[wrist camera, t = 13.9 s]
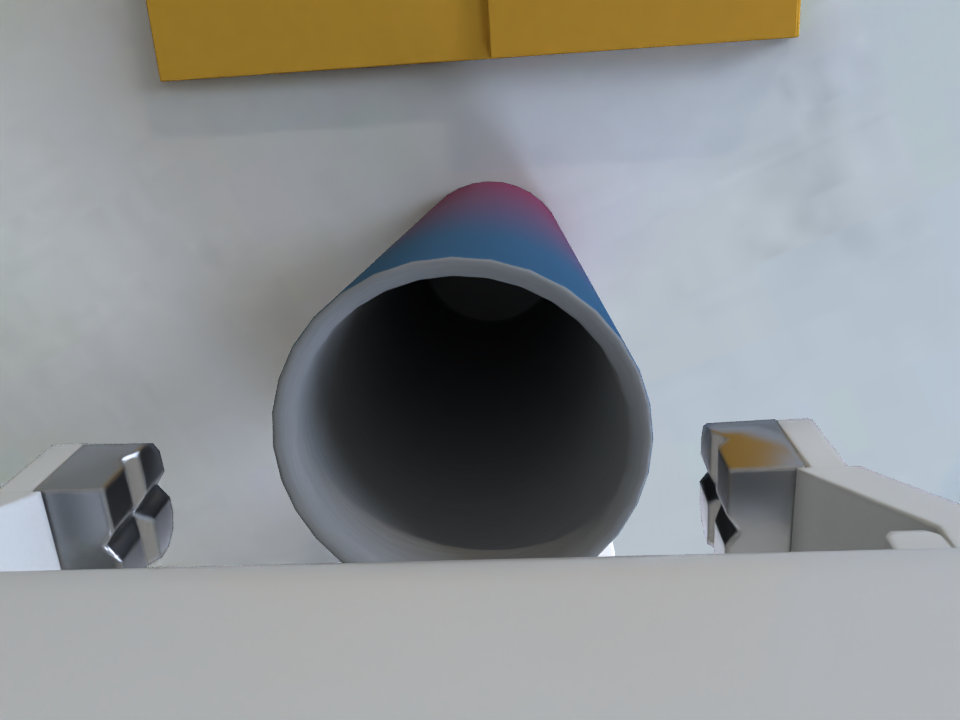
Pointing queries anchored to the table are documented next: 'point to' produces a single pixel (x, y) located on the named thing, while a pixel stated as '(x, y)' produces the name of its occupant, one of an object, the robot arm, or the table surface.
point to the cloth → (435, 31)
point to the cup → (465, 397)
